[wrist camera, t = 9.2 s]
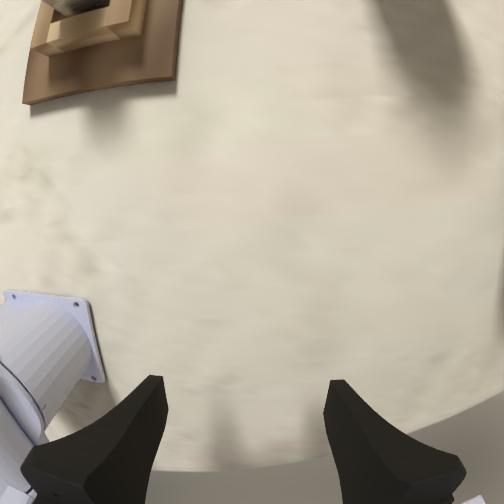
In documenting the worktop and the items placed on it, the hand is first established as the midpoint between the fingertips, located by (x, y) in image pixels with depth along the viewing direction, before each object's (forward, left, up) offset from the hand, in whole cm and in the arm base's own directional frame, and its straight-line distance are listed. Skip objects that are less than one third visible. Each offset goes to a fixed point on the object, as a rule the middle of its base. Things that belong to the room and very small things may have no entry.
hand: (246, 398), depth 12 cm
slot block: (-11, +23, -9) cm, 27 cm away
